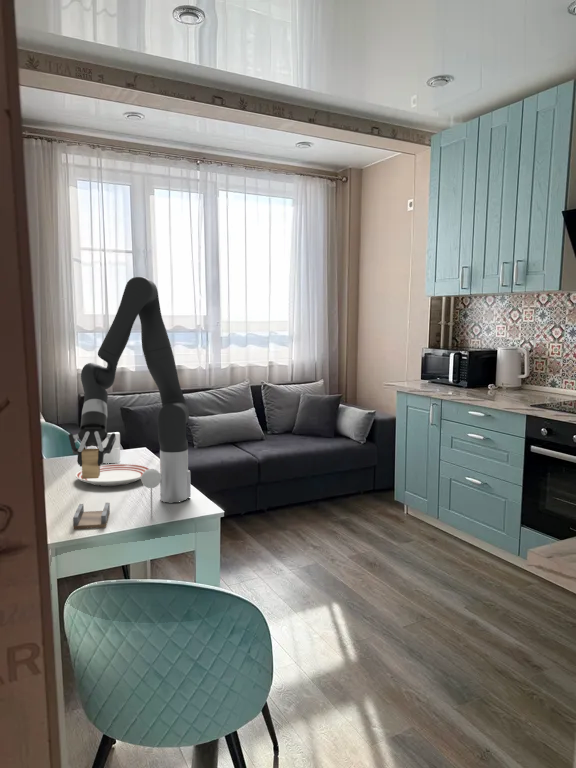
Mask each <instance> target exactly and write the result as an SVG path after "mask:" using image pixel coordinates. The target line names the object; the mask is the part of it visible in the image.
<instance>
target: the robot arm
mask: <svg viewBox="0 0 576 768" xmlns="http://www.w3.org/2000/svg"><path fill="white" fill-rule="evenodd" d="M137 317H138V318H139V320H140V329H141V330H140V331H141V333H140V335H141V348H142V352H143V356H144V361H145V363H146V367H147V369H148V372H149V374H150V376H151V377H152V379H153V381H154V383H155V385H156V387H157V389H158V392H159V396H160V397H159V398H160V401H161V406H162V407H161V408H160V409H159V411H158V414H157V436H158V437H157V438H158V443H159V473H160V475H161V477H162V478H161V481H160V483H159V485H160V486H159V489H160V491H159V492H160V494H159V496H160V497H159V498H160V501H161V502H162V501H163V502H162V503H165V502H169V503H168V504H171V503H170V502H179V501H183V500H186V499H187V498H189V497H191V489H192V488H191V487H192V485H191V483H192V482H191V470H189V442H188V438H187V423H188V421H189V418H190V410H189V407H188V404H187V402H186V399H185V396H184V393H183V391H182V389H181V385H180V382H179V381H180V379H179V376H178V370H177V366H176V360H175V356H174V353H173V349H172V344H171V342H170V339H169V335H168V332H167V328H166V326H165V322H164V320H163V316H162V311H161V305H160V297H159V291H158V287H157V285H156V284H155V282H154V281H153V280H151V279H150V278H147V277H144V276H138V275H137V276H134V277H131V278H130V279H129V280H128V281H127V282H126V284H125V287H124V290H123V293H122V297H121V300H120V304H119V306H118V309H117V312H116V313H115V316H114V318H113V320H112V323H111V325H110V327H109V329H108V331H107V333H106V335H105V337H104V338H103V341H102V343H101V344H100V347H99V349H98V352H97V356H98V357H99V358H100V359H101V360H103V361H105V362H106V363H107V365H106V367H105V366H102V365H100V364H97V363H94V362H87V363H85V364H84V366H83V367H82V369H81V371H80V381H81V384H82V388H83V393H84V398H83V399H84V400H83V406H82V410H81V417H80V418H81V419H80V428H79V431H78V432H77V433H76V434H72V433H69V434H68V440H69V443H70V446H71V451H72V454H73V455H77V458H76V461H77V464H78V465H79V467H81V468H82V451H83V449H88V447H97V449H99V453H98V466H101V465H104V464H103V459H104V454H106V453H108V454H109V453H110V452H111V450H112V447H113V445H114V442H115V440H116V436H115V433H114V432H111V433H112V434H108V433H109V432H107V424H108V415H109V414H108V399H109V393H108V391H107V390H108V389H110V388H111V387H112V386H113V385H114V382H115V379H116V373H117V367H118V364H119V361H120V359H121V356H122V354H123V353H124V350H125V349H126V346H127V344H128V343H129V338H130V336H131V332H132V330H133V329H132V328H133V326H134V324H135V321H136V319H137ZM106 438H108V443H107V446H106V447H105V448H103V446H102V442H103V441H104V440H105V439H106ZM78 439H79V440H80V445H79V447H77V445H76V443H77V441H78ZM187 500H188V499H187ZM187 500H186V501H187Z"/></svg>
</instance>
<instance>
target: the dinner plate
mask: <svg viewBox="0 0 576 768" xmlns="http://www.w3.org/2000/svg"><path fill="white" fill-rule="evenodd" d="M148 469H151V468H150V467H148V466H146V465H142V464H136V463H135V464H134V463H115V464H101V466H100V475H99V478H91V479H82V469H81V470H79V471H77V472H76V473H75V474H74V475H75V478H76V479H78V480H79V481H82V482H83V483H87V484H91V485H94V484H95V485H94V486H99V485H101V486H100V487H112V486H113V487H115V486H123V485H128V484H132V483H134V482H136V481H138V480H139V481H140V480H141V476H142V474H143V473H144V472H145V471H146V470H148Z"/></svg>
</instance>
